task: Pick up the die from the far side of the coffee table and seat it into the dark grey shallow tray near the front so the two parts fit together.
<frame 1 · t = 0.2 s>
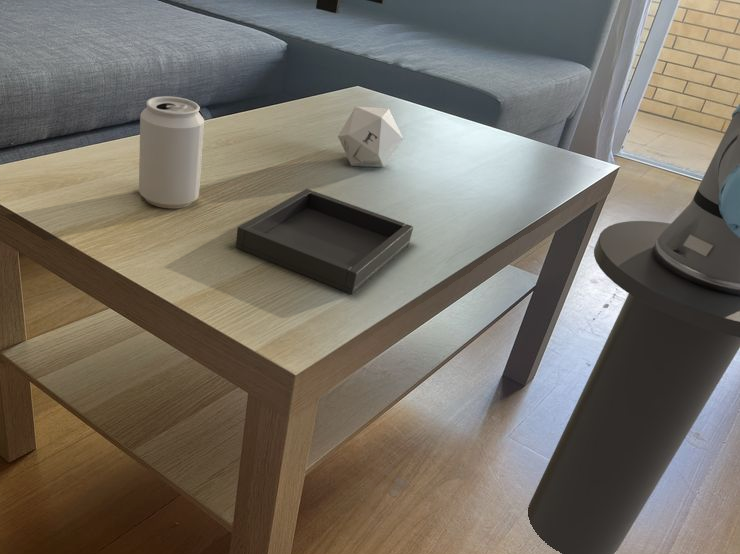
hand: (351, 6, 91), 23 cm above the table, tool pointing down, fingers open, 13 cm apart
die: (364, 163, 111), on the table
dark grey shallow tray: (325, 246, 86), on the table
can: (168, 200, 91), on the table
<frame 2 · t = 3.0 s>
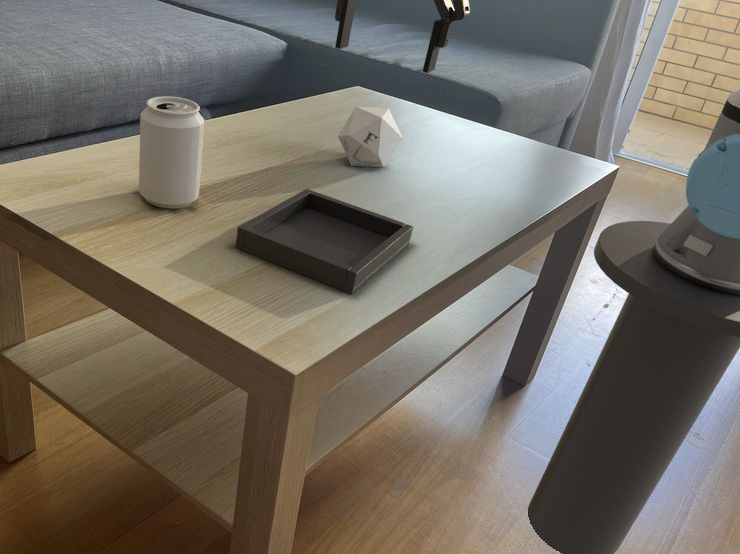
hand: (383, 58, 102), 15 cm above the table, tool pointing down, fingers open, 13 cm apart
nothing on the table moved.
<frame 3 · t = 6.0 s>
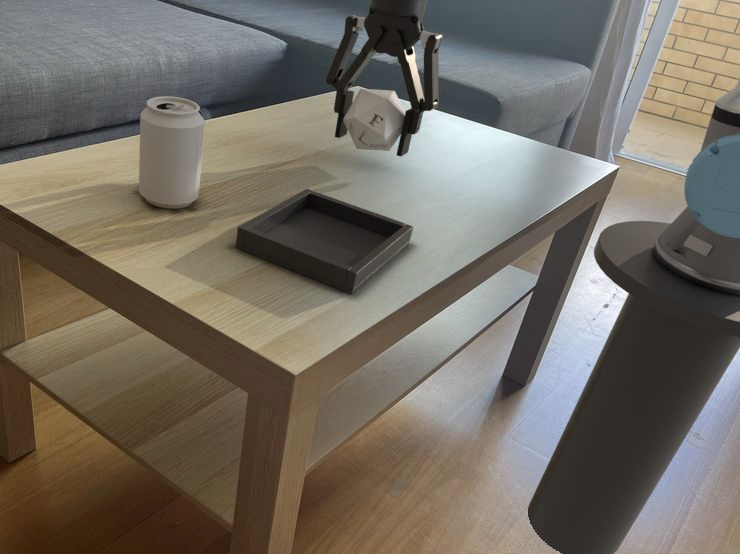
hand: (370, 144, 109), 3 cm above the table, tool pointing down, fingers closed on die, 10 cm apart
die: (370, 147, 109), point 3 cm above the table, touching gripper
everything else where it was.
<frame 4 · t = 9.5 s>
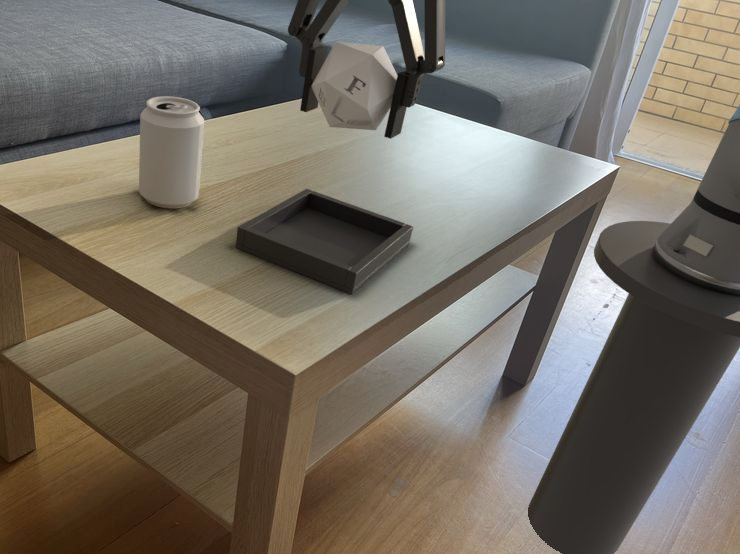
hand: (349, 121, 79), 14 cm above the table, tool pointing down, fingers closed on die, 10 cm apart
die: (349, 125, 79), point 14 cm above the table, touching gripper
everything else where it was.
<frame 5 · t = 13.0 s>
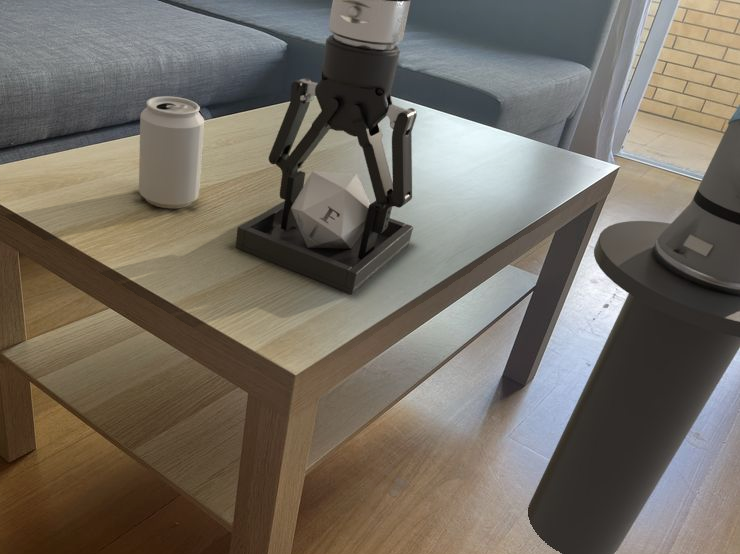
hand: (326, 240, 85), 1 cm above the table, tool pointing down, fingers closed on die, 10 cm apart
die: (325, 243, 85), resting on dark grey shallow tray, touching gripper
everything else where it was.
when the fingers open (2 cm above the table, at t = 13.9 s): die stays where it is, resting on dark grey shallow tray.
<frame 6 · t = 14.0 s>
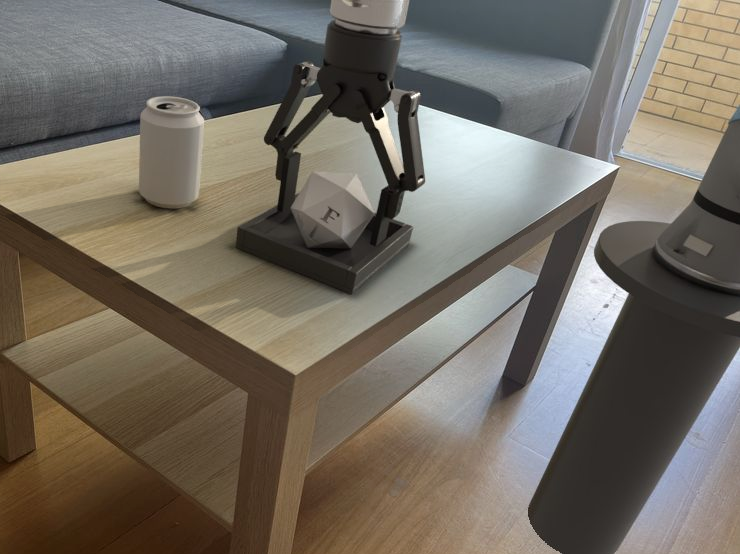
hand: (330, 224, 84), 3 cm above the table, tool pointing down, fingers open, 12 cm apart
die: (325, 243, 85), resting on dark grey shallow tray
everything else where it was.
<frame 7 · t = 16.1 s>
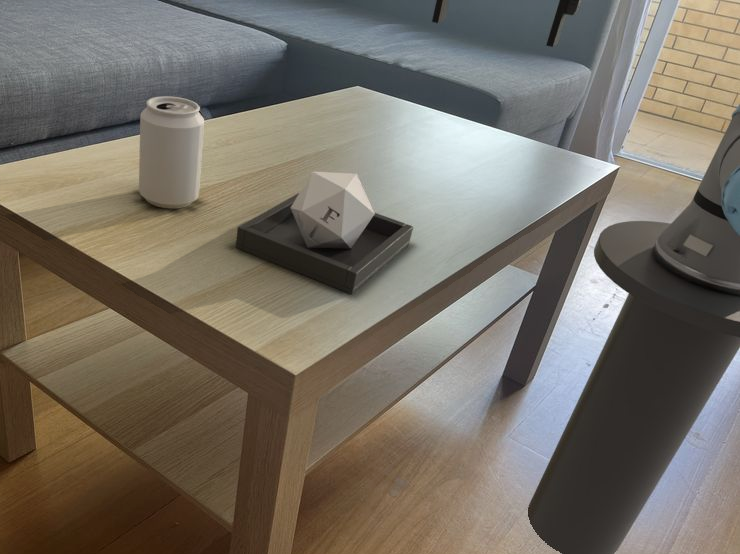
hand: (493, 33, 84), 23 cm above the table, tool pointing down, fingers open, 13 cm apart
nothing on the table moved.
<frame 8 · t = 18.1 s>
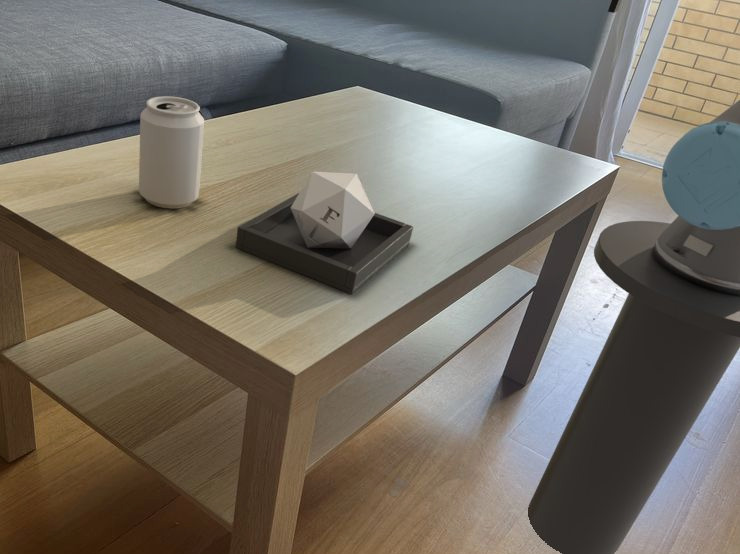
nothing on the table moved.
at the end: die 0.0 cm off-centre in the dark grey shallow tray, point 0.4 cm above the dark grey shallow tray's base; die tilted 0°; the gripper is holding nothing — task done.
